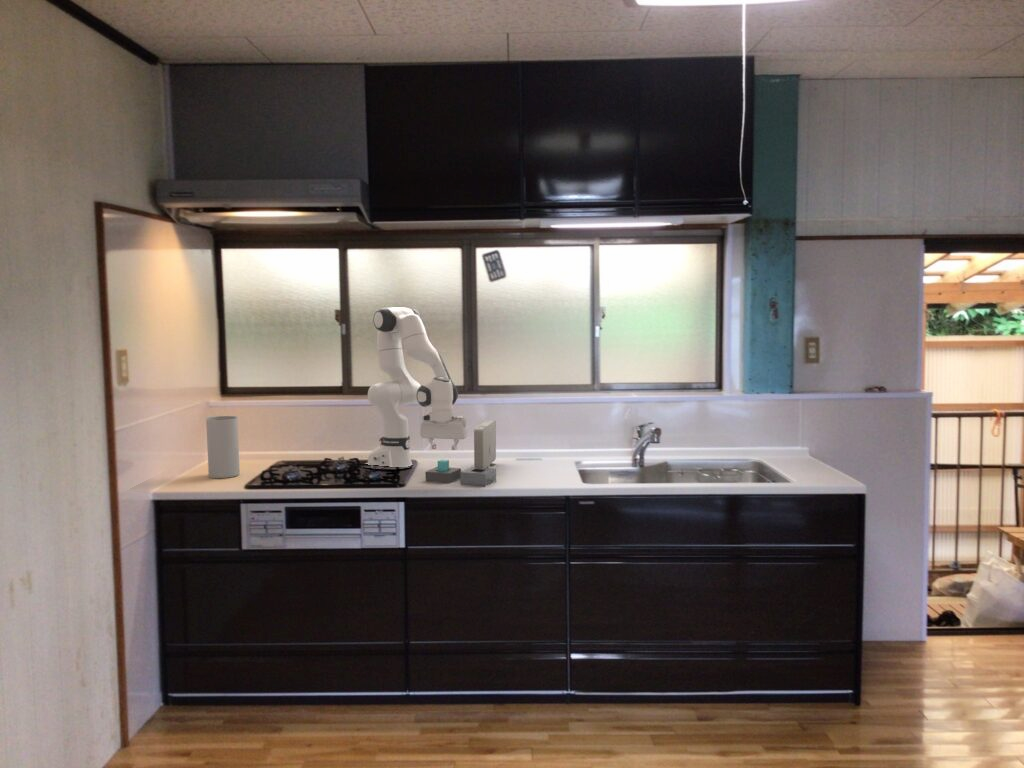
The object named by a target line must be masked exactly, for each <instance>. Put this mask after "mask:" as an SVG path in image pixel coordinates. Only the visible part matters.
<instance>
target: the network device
mask: <svg viewBox="0 0 1024 768" xmlns="http://www.w3.org/2000/svg"><path fill="white" fill-rule="evenodd" d="M496 423H497V422H496V420H486V421H484V422H483V423H481V424H479V425H477V426H476V427H474V430H473V448H474V449H473V450H474V451H473V453H474V454H473V457H474V458H473V460H474V461H473V462H474V464H473V467H479V468H492V469H496V468H498V466H499V464H498V463H494V462H495V461H496V458H497V438H496V437H497V436H496V435H497V427H496V425H497V424H496Z"/></svg>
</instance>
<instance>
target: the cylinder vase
mask: <svg viewBox="0 0 1024 768" xmlns="http://www.w3.org/2000/svg"><path fill="white" fill-rule="evenodd" d="M238 421H239V420H238V417H237V416H234V415H222V416H221V415H219V416H211V417H206V419H205V422H206V426H205V427H206V442H207V443H206V444H207V447H206V448H207V467H208V468H207V469H208V477H209V478H212V479H230V478H235V477H237V476H239V475H240V473H241V472H240V471H241V470H240V448H239V447H240V445H239V422H238Z"/></svg>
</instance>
